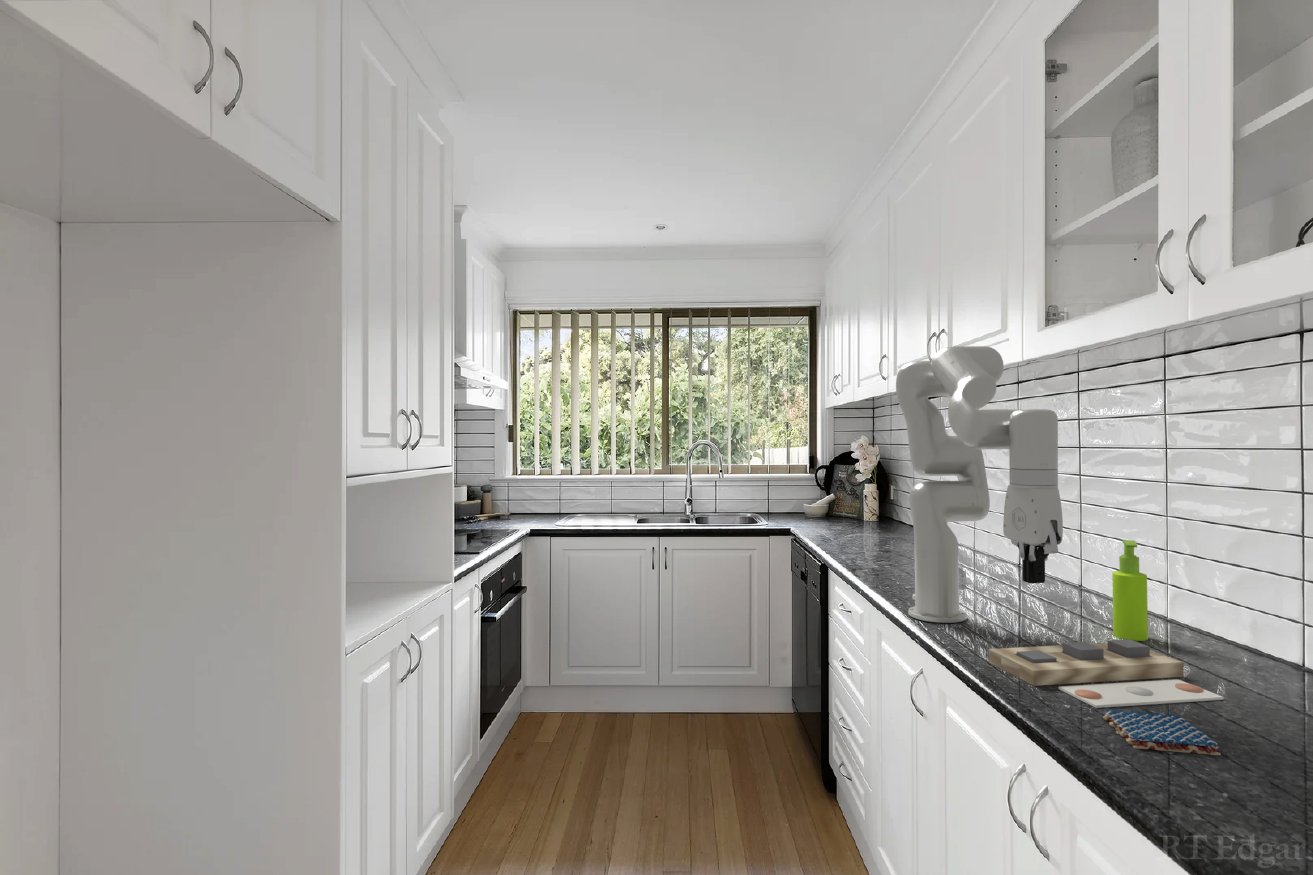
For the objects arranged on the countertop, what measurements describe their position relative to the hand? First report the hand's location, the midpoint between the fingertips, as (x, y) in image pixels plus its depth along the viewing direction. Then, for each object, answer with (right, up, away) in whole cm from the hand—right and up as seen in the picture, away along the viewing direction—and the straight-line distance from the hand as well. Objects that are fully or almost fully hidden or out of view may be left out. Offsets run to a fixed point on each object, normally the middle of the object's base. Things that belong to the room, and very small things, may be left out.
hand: (1033, 581), depth 120 cm
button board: (+9, -16, +1) cm, 18 cm away
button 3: (+18, -14, +2) cm, 23 cm away
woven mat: (+2, -16, -26) cm, 31 cm away
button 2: (+9, -14, +1) cm, 17 cm away
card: (+11, -16, -11) cm, 22 cm away
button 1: (0, -15, -1) cm, 15 cm away
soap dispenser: (+31, -16, +19) cm, 40 cm away
